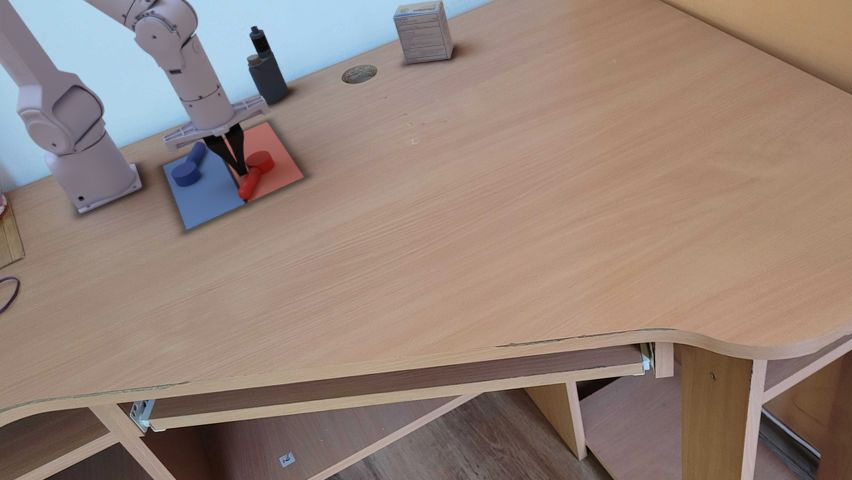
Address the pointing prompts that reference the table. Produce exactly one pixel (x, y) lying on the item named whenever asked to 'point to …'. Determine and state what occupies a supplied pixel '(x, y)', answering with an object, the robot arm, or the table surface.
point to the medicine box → (423, 31)
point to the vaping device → (265, 69)
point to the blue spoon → (189, 167)
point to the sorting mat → (230, 178)
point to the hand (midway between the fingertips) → (242, 172)
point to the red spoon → (255, 172)
